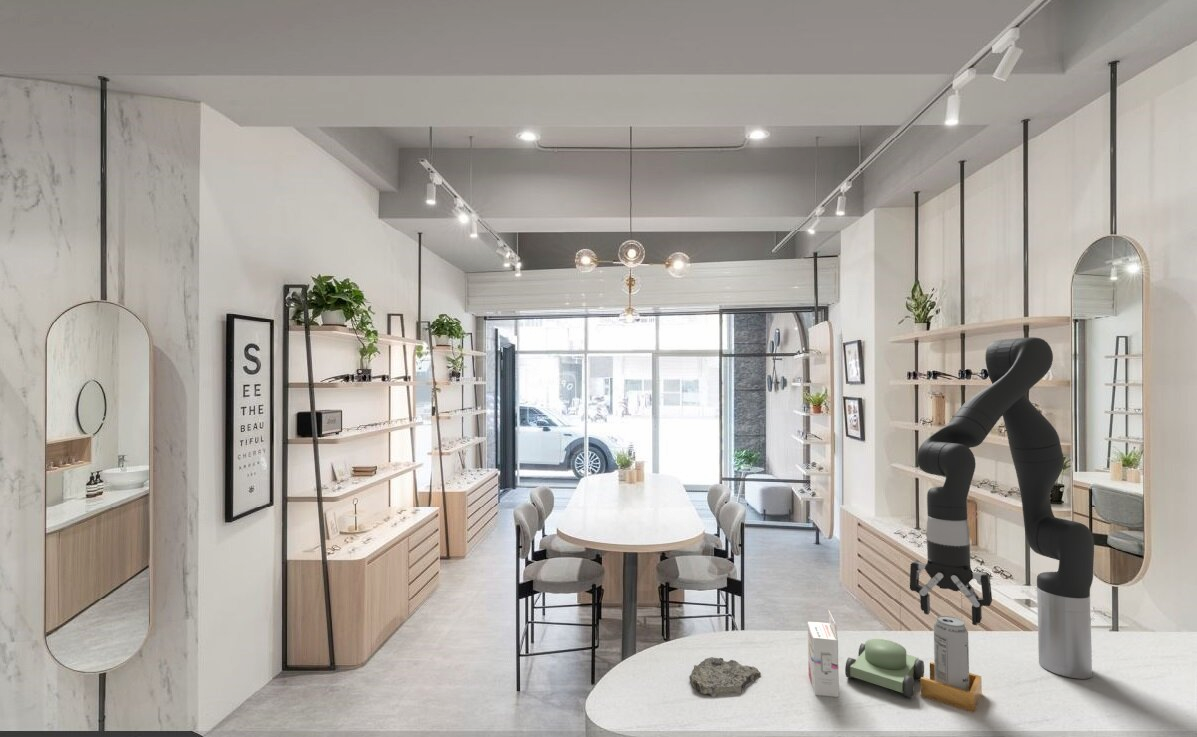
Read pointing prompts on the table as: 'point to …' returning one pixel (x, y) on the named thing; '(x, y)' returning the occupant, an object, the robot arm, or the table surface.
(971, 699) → the bracket
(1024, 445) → the robot arm
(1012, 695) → the table surface
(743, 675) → the stone slab
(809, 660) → the ink cartridge box
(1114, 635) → the table surface
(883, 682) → the green toy car
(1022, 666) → the table surface
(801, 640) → the table surface
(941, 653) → the energy drink can
